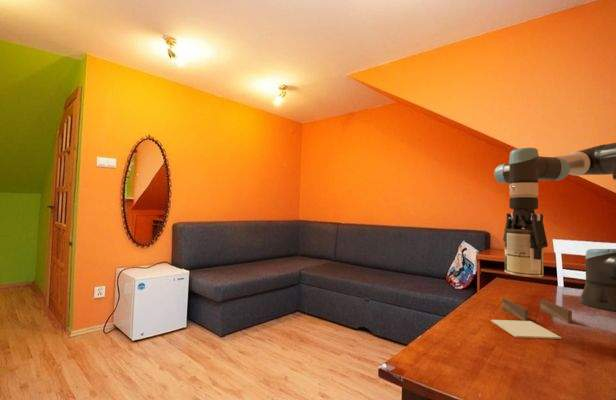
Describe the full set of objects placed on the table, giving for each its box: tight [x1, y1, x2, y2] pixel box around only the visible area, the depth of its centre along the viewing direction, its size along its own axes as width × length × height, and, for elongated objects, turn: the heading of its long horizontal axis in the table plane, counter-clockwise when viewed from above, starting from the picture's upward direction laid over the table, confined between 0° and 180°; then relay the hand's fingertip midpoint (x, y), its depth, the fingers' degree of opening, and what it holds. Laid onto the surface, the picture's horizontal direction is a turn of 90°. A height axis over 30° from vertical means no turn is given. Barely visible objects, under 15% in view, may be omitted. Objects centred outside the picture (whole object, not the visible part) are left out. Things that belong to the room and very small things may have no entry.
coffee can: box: [503, 228, 545, 278], centre depth 96 cm, size 10×10×14 cm
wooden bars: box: [501, 297, 573, 324], centre depth 109 cm, size 15×13×4 cm
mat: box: [490, 319, 562, 340], centre depth 96 cm, size 13×13×1 cm
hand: (523, 266), depth 96 cm, fingers closed on coffee can, 10 cm apart
